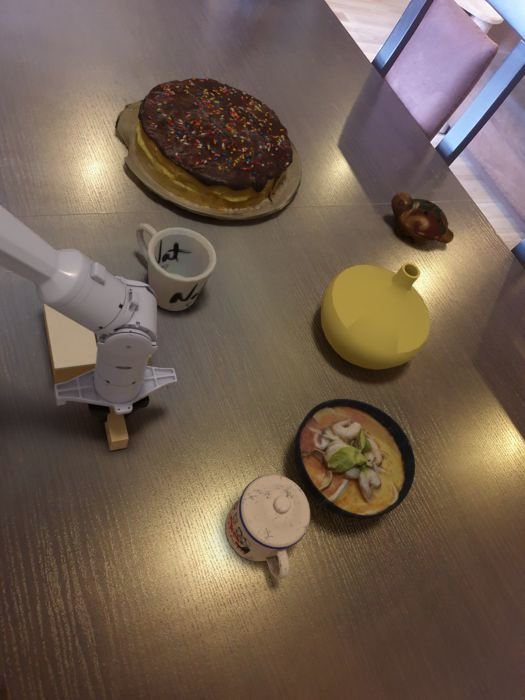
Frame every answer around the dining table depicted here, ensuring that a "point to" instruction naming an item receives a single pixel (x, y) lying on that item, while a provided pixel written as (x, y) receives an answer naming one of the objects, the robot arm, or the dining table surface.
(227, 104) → the cake
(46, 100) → the dining table surface
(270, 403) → the dining table surface
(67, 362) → the sponge cake
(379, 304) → the vase
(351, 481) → the bowl
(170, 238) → the mug
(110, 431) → the knife
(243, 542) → the teacup with lid
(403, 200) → the decorative turtle
